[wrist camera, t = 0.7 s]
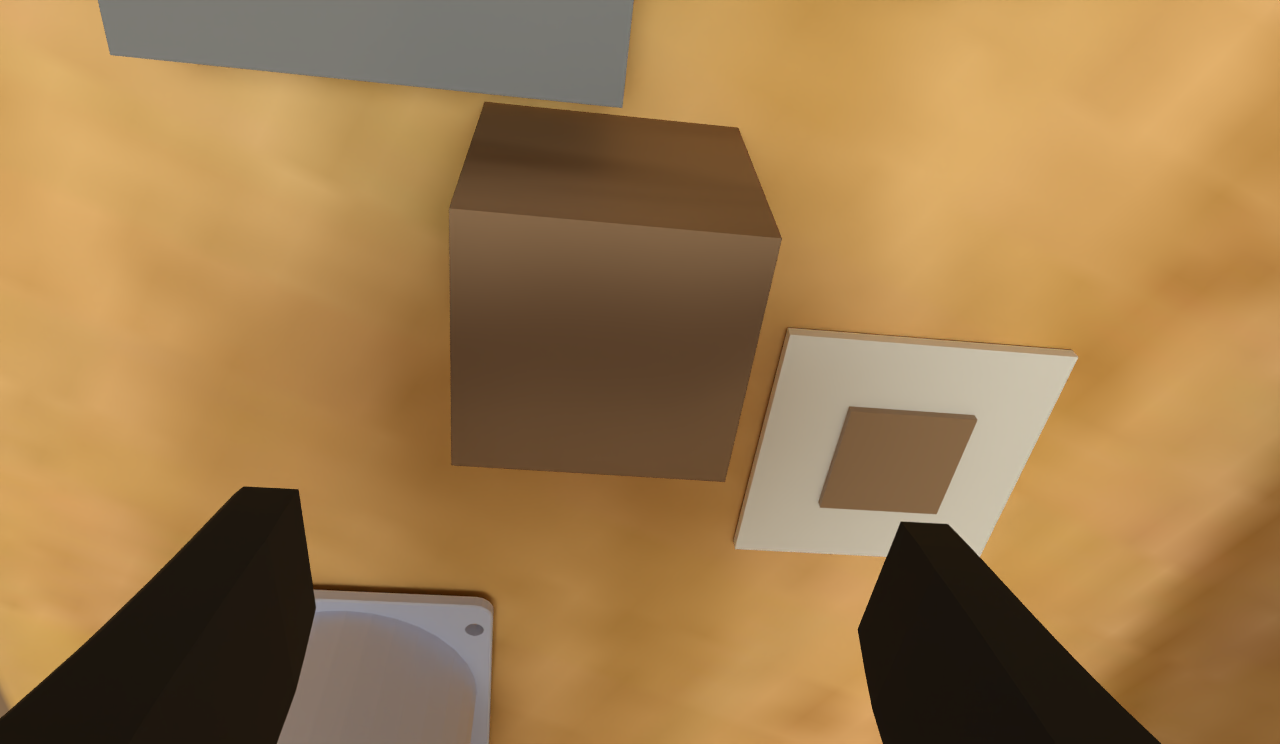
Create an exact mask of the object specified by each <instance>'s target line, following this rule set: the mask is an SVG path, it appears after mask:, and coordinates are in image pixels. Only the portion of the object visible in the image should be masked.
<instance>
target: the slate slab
mask: <svg viewBox="0 0 1280 744" xmlns="http://www.w3.org/2000/svg"><path fill="white" fill-rule="evenodd" d="M633 2H634V0H98V3H99V7H100V12H101V16H102V21H103V25H104V29H105V34H106V38H107V42H108V47H109V51H110V55H115V56H125V57H135V58H145V59H154V60H164V61H174V62H183V63H193V64H203V65H212V66H222V67H232V68H241V69H251V70H261V71H270V72H280V73H290V74H299V75H309V76H319V77H328V78H338V79H348V80H358V81H367V82H377V83H387V84H396V85H406V86H416V87H425V88H435V89H445V90H454V91H464V92H474V93H483V94H493V95H503V96H512V97H522V98H532V99H541V100H551V101H561V102H571V103H580V104H590V105H600V106H609V107H619V108H622V105H623V96H624V86H625V77H626V68H627V58H628V49H629V39H630V30H631V20H632V11H633Z"/></svg>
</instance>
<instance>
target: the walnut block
mask: <svg viewBox="0 0 1280 744" xmlns="http://www.w3.org/2000/svg"><path fill="white" fill-rule="evenodd" d="M781 240H782V238H781V235H780V233H779V230H778V227H777V225H776V222H775V220H774V217H773V215H772V212H771V210H770V207H769V205H768V202H767V200H766V197H765V195H764V192H763V189H762V187H761V184H760V182H759V179H758V177H757V174H756V172H755V169H754V167H753V164H752V162H751V159H750V157H749V154H748V151H747V149H746V146H745V144H744V141H743V139H742V136H741V134H740V131H739V129H738V128H735V127H725V126H716V125H706V124H696V123H686V122H677V121H667V120H657V119H647V118H638V117H628V116H618V115H609V114H599V113H589V112H579V111H570V110H560V109H550V108H540V107H531V106H521V105H511V104H501V103H492V102H485V103H484V106H483V109H482V112H481V115H480V118H479V121H478V123H477V126H476V129H475V132H474V135H473V138H472V141H471V144H470V147H469V150H468V153H467V156H466V159H465V162H464V165H463V168H462V171H461V174H460V177H459V180H458V183H457V186H456V189H455V192H454V195H453V198H452V201H451V204H450V207H449V254H450V357H451V460H452V465H455V466H471V467H488V468H504V469H521V470H537V471H554V472H570V473H587V474H603V475H620V476H636V477H653V478H670V479H686V480H703V481H719V482H725V479H726V475H727V471H728V466H729V462H730V458H731V454H732V449H733V445H734V441H735V436H736V432H737V428H738V424H739V419H740V415H741V411H742V407H743V402H744V398H745V394H746V390H747V385H748V381H749V377H750V372H751V368H752V364H753V360H754V355H755V351H756V347H757V343H758V338H759V334H760V330H761V325H762V321H763V317H764V313H765V308H766V304H767V300H768V296H769V291H770V287H771V283H772V278H773V274H774V270H775V266H776V261H777V257H778V253H779V249H780V244H781Z"/></svg>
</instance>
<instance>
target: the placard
mask: <svg viewBox="0 0 1280 744" xmlns="http://www.w3.org/2000/svg"><path fill="white" fill-rule="evenodd" d="M1077 359H1078V356H1077V355H1076V354H1075V353H1074V351H1073V350H1064V349H1051V348H1039V347H1026V346H1013V345H1001V344H988V343H975V342H963V341H950V340H938V339H925V338H912V337H900V336H887V335H874V334H862V333H849V332H836V331H824V330H811V329H799V328H788V329H787V333H786V336H785V340H784V344H783V348H782V352H781V356H780V360H779V364H778V368H777V372H776V376H775V380H774V384H773V387H772V391H771V395H770V399H769V403H768V407H767V411H766V415H765V419H764V423H763V427H762V431H761V434H760V438H759V442H758V446H757V450H756V454H755V458H754V462H753V466H752V470H751V474H750V478H749V482H748V485H747V489H746V493H745V497H744V501H743V505H742V509H741V513H740V517H739V521H738V525H737V529H736V533H735V536H734V540H733V542H734V547H735V549H744V550H764V551H783V552H803V553H822V554H842V555H861V556H881V557H887V555H888V552H889V550H890V547H891V545H892V542H893V540H894V537H895V535H896V532H897V530H898V527H899V525H900V522H901V521H902V522H921V523H940V524H949V525H950V526H951V527H952V528H953V529H954V531H955V532H956V533H957V534H958V535H959V536H960V537H961V538H962V539H963V540H964V541H965V542H966V543H967V544H968V545H969V546H970V547H971V548H972V549H973V550H974V552H975V553H976V554H977V555H978V556H979V557H980V555H981V553H982V551H983V549H984V547H985V545H986V543H987V541H988V539H989V537H990V535H991V533H992V531H993V529H994V527H995V525H996V523H997V521H998V519H999V517H1000V515H1001V513H1002V511H1003V509H1004V507H1005V505H1006V503H1007V501H1008V498H1009V496H1010V494H1011V492H1012V490H1013V488H1014V486H1015V484H1016V482H1017V480H1018V478H1019V476H1020V474H1021V472H1022V470H1023V468H1024V466H1025V464H1026V462H1027V460H1028V458H1029V456H1030V454H1031V452H1032V450H1033V448H1034V446H1035V444H1036V442H1037V440H1038V438H1039V436H1040V434H1041V432H1042V430H1043V428H1044V426H1045V423H1046V421H1047V419H1048V417H1049V415H1050V413H1051V411H1052V409H1053V407H1054V405H1055V403H1056V401H1057V399H1058V397H1059V395H1060V393H1061V391H1062V389H1063V387H1064V385H1065V383H1066V381H1067V379H1068V377H1069V375H1070V373H1071V371H1072V369H1073V367H1074V365H1075V363H1076V361H1077Z"/></svg>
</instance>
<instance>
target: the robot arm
mask: <svg viewBox="0 0 1280 744" xmlns="http://www.w3.org/2000/svg"><path fill="white" fill-rule="evenodd" d="M493 610H494V609H493V606H492V604H491V603H490V602H489V601H488V600H486V599H484V598H480V597H470V596H448V595H425V594H403V593H380V592H357V591H335V590H313V583H312V577H311V570H310V563H309V557H308V550H307V543H306V536H305V530H304V523H303V516H302V510H301V503H300V496H299V490H298V489H280V488H261V487H243V488H241V489H240V490H239V491H237V492H236V493H235V494H234V495H233V496H232V497H231V498H230V499H229V500H228V501H227V502H226V503H225V504H224V505H223V506H222V507H221V508H220V509H219V510H218V511H217V513H216V514H215V515H214V516H213V517H212V518H211V519H210V520H209V521H208V522H207V523H206V524H205V525H204V526H203V527H202V528H201V529H200V530H199V531H198V532H197V533H196V534H195V535H194V536H193V537H192V538H191V540H190V541H189V542H188V543H187V544H186V545H185V546H184V547H183V548H182V549H181V550H180V551H179V552H178V553H177V554H176V555H175V556H174V557H173V558H172V559H171V560H170V561H169V562H168V563H167V564H166V565H165V566H164V567H163V568H162V569H161V570H160V571H159V572H158V573H157V574H156V575H155V576H154V577H153V578H152V579H151V580H150V581H149V582H148V583H147V584H146V585H145V586H144V587H143V588H142V589H141V590H140V591H139V592H138V593H137V594H136V595H135V596H134V597H133V598H132V599H131V600H129V601H128V602H127V603H126V604H125V605H124V606H123V607H122V608H121V609H120V610H119V611H118V612H117V613H116V614H115V615H114V616H113V617H112V618H111V619H110V620H109V621H108V622H107V623H106V624H105V625H104V626H103V627H102V628H100V629H99V630H98V631H97V632H96V633H95V634H94V635H93V636H92V637H91V638H90V639H89V640H88V641H87V642H86V643H85V644H84V645H82V646H81V647H80V648H79V649H78V650H77V651H76V652H75V653H74V654H72V655H71V656H70V657H69V658H68V659H67V660H66V661H65V662H63V663H62V664H61V665H60V666H59V667H58V668H57V669H56V670H54V671H53V672H52V673H51V674H50V675H49V676H48V677H47V678H45V679H44V680H43V681H42V682H41V683H40V684H39V685H38V686H36V687H35V688H34V689H33V690H32V691H31V692H30V693H29V694H27V695H26V696H25V697H24V698H23V699H22V700H21V701H20V702H18V703H17V704H16V705H15V706H14V707H13V708H12V709H11V710H9V711H8V712H7V713H6V714H5V715H4V716H2V717H1V718H0V744H489V734H490V703H491V672H492V641H493ZM475 624H477V625H475ZM858 634H859V640H860V645H861V651H862V657H863V663H864V669H865V674H866V679H867V684H868V689H869V694H870V700H871V705H872V709H873V713H874V716H875V719H876V723H877V726H878V729H879V733H880V736H881V739H882V742H883V744H1161V743H1160V742H1159V741H1158V740H1157V739H1156V738H1155V737H1154V736H1153V735H1152V734H1151V733H1149V732H1148V731H1147V730H1146V729H1145V728H1144V727H1143V726H1142V725H1141V724H1140V723H1139V722H1138V721H1137V720H1136V719H1135V718H1134V717H1133V716H1132V715H1131V714H1129V713H1128V712H1127V711H1126V710H1125V709H1124V708H1123V707H1122V706H1121V705H1120V704H1119V703H1118V702H1117V701H1116V700H1115V699H1114V698H1113V697H1112V696H1111V695H1110V694H1109V693H1108V692H1107V691H1106V690H1105V689H1104V688H1103V687H1102V686H1101V685H1100V684H1099V683H1098V682H1097V681H1096V680H1095V679H1094V678H1093V677H1092V676H1091V675H1090V674H1089V673H1088V672H1087V671H1086V670H1085V669H1084V668H1083V667H1082V666H1081V665H1080V664H1079V663H1078V662H1077V661H1076V660H1075V659H1074V658H1073V657H1072V655H1071V654H1070V653H1069V652H1068V651H1067V650H1066V649H1065V648H1064V647H1063V646H1062V645H1061V644H1060V643H1059V642H1058V641H1057V640H1056V639H1055V638H1054V637H1053V636H1052V635H1051V634H1050V632H1049V631H1048V630H1047V629H1046V628H1045V627H1044V626H1043V625H1042V624H1041V623H1040V622H1039V621H1038V620H1037V619H1036V618H1035V617H1034V615H1033V614H1032V613H1031V612H1030V611H1029V610H1028V609H1027V608H1026V607H1025V606H1024V605H1023V604H1022V602H1021V601H1020V600H1019V599H1018V598H1017V597H1016V596H1015V595H1014V594H1013V593H1012V592H1011V591H1010V590H1009V588H1008V587H1007V586H1006V585H1005V584H1004V583H1003V582H1002V581H1001V580H1000V579H999V578H998V576H997V575H996V574H995V573H994V572H993V571H992V570H991V569H990V568H989V567H988V566H987V565H986V563H985V562H984V561H983V560H982V559H981V558H980V557H979V556H978V555H977V554H976V553H975V552H974V550H973V549H972V548H971V547H970V546H969V545H968V544H967V543H966V542H965V541H964V540H963V539H962V538H961V537H960V536H959V535H958V534H957V533H956V532H955V531H954V529H953V528H952V527H951V526H950V525H949V524H940V523H921V522H902V521H901V522H900V525H899V527H898V530H897V532H896V535H895V537H894V540H893V542H892V545H891V547H890V550H889V552H888V555H887V557H886V560H885V562H884V565H883V567H882V570H881V572H880V575H879V577H878V580H877V582H876V585H875V587H874V590H873V592H872V595H871V597H870V600H869V602H868V605H867V607H866V610H865V612H864V615H863V617H862V620H861V622H860V625H859V627H858Z"/></svg>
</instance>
